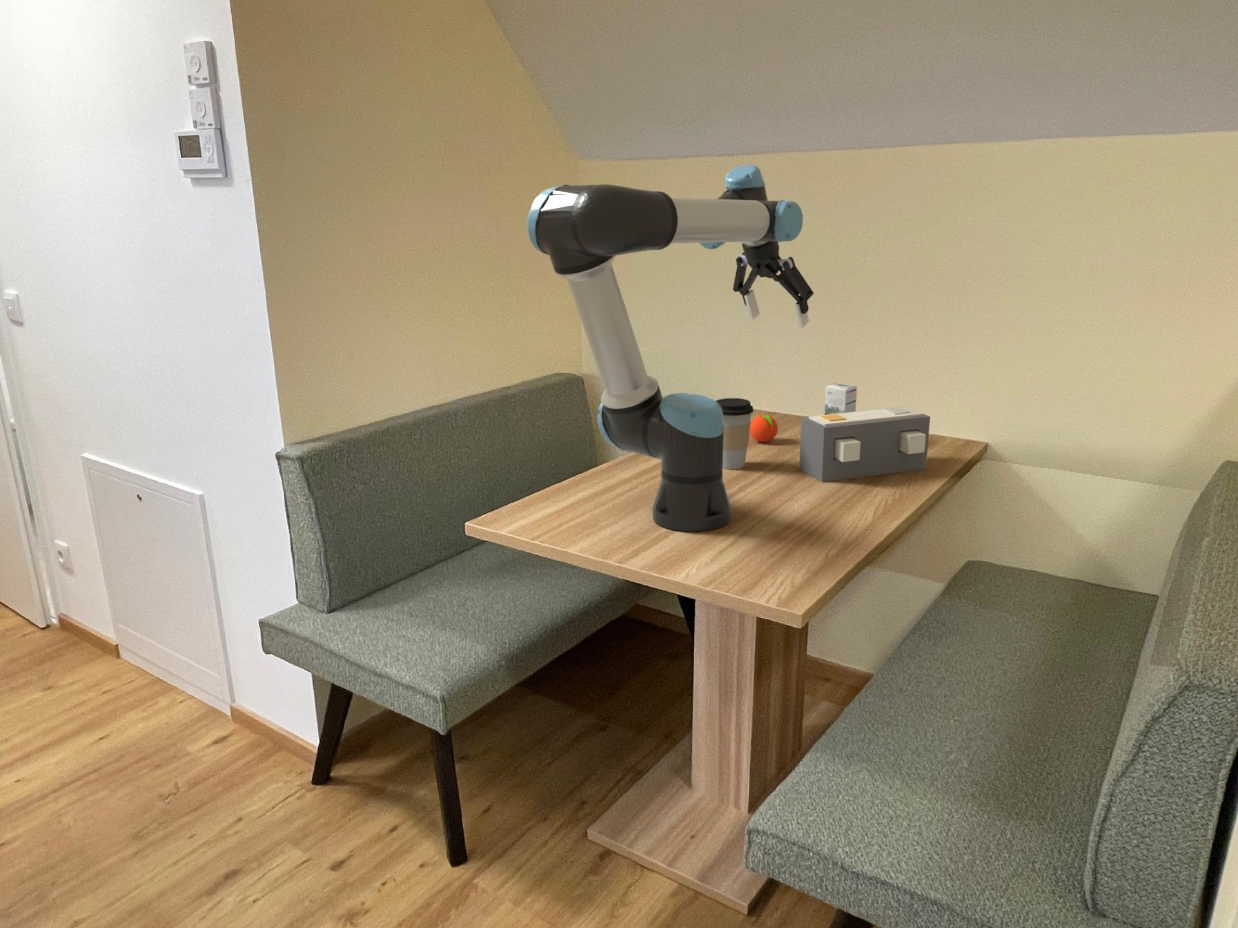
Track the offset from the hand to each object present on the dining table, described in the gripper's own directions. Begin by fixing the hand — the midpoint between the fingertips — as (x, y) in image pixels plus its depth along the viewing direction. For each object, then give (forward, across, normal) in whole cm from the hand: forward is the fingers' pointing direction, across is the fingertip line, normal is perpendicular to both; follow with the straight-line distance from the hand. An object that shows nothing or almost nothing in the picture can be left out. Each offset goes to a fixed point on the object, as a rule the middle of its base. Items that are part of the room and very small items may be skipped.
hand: (779, 320), depth 202 cm
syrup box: (+36, -8, -1) cm, 37 cm away
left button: (+19, -24, +18) cm, 36 cm away
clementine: (+31, +6, +10) cm, 33 cm away
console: (+28, -23, +12) cm, 39 cm away
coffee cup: (+21, 0, +28) cm, 35 cm away
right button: (+25, -32, +6) cm, 41 cm away
